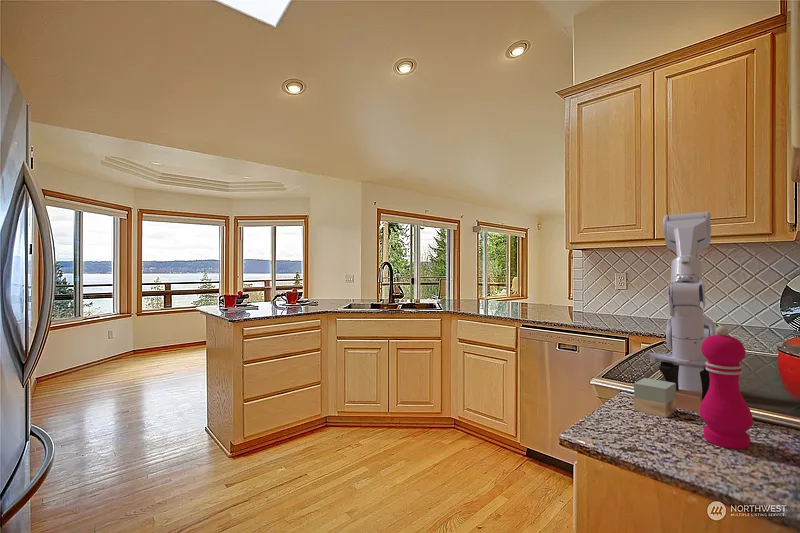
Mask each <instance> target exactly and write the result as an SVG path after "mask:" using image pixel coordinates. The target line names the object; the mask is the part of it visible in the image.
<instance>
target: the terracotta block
mask: <svg viewBox="0 0 800 533" xmlns="http://www.w3.org/2000/svg"><path fill="white" fill-rule="evenodd" d="M701 403H702V392H697V391H692V390H687V389H679V390H677V391H676V407H677V408H678V409H682V410H686V411H691V412H695V413H699V414H700V406H701Z"/></svg>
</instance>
